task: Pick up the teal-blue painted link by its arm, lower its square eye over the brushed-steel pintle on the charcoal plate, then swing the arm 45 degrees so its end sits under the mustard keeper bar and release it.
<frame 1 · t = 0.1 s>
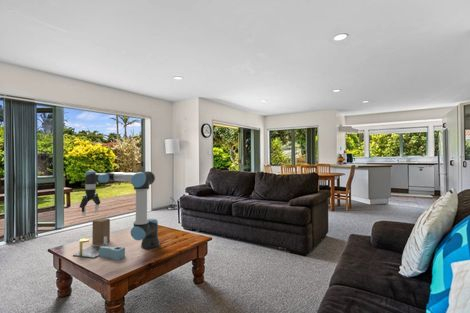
hand: (90, 213, 210), 28 cm above the table, fingers open, 13 cm apart
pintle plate: (105, 250, 202), on the table
wooden block: (101, 242, 221), on the table
link: (101, 255, 191), on the table
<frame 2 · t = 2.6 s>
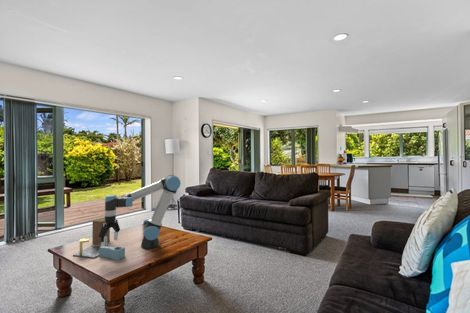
hand: (109, 243, 189), 11 cm above the table, fingers open, 13 cm apart
nothing on the table moved.
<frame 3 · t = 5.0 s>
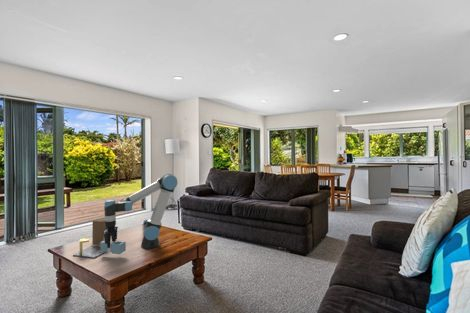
hand: (111, 250, 189), 5 cm above the table, fingers closed on link, 3 cm apart
link: (101, 250, 191), point 4 cm above the table, touching gripper
everything else where it was.
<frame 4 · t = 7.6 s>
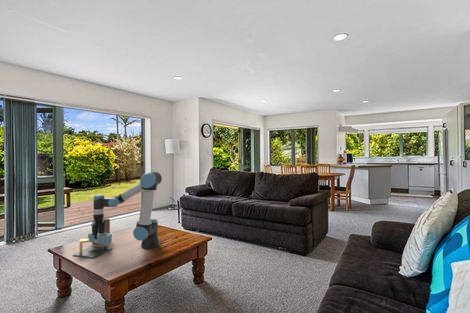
hand: (98, 242, 203), 6 cm above the table, fingers closed on link, 3 cm apart
link: (89, 241, 205), point 6 cm above the table, touching gripper
everything else where it was.
when the fingers open (2 cm above the table, at t = 10.2 s): link stays where it is, resting on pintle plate.
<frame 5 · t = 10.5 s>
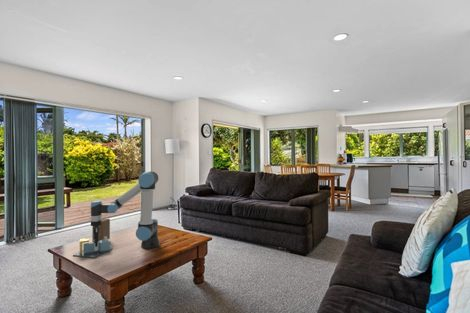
hand: (95, 248, 198), 3 cm above the table, fingers open, 7 cm apart
link: (83, 253, 193), point 1 cm above the table, touching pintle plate
everything else where it was.
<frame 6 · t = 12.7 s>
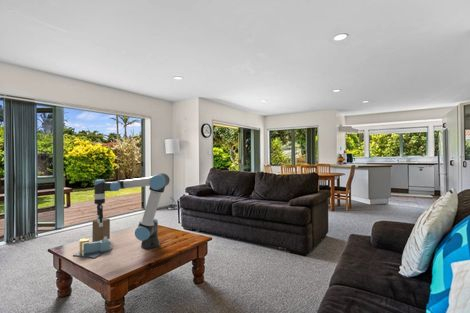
hand: (100, 224, 200), 22 cm above the table, fingers open, 13 cm apart
nothing on the table moved.
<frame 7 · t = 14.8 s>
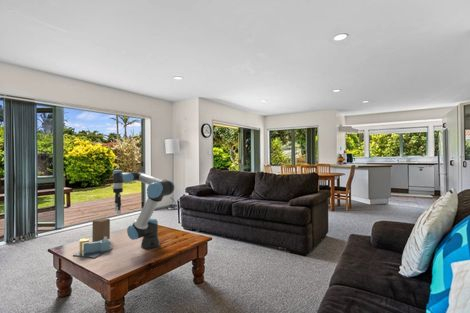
hand: (117, 212, 213), 29 cm above the table, fingers open, 13 cm apart
nothing on the table moved.
at the end: link 0.5 cm from the target spot on the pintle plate, point 1.0 cm above the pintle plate's base; link tilted 0°; the gripper is holding nothing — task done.
